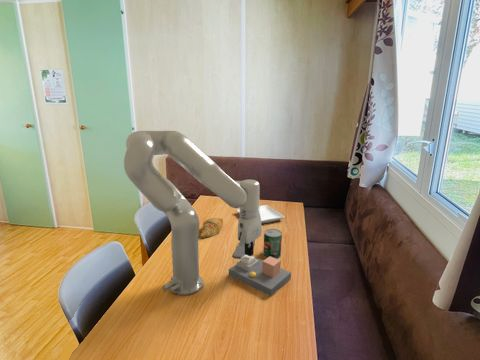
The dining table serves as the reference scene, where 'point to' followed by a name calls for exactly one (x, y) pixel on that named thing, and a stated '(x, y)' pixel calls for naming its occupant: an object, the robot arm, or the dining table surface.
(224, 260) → the dining table surface
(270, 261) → the block
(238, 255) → the smartphone
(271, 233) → the canned tomato
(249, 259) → the button
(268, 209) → the salad plate
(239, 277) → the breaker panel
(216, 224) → the croissant
